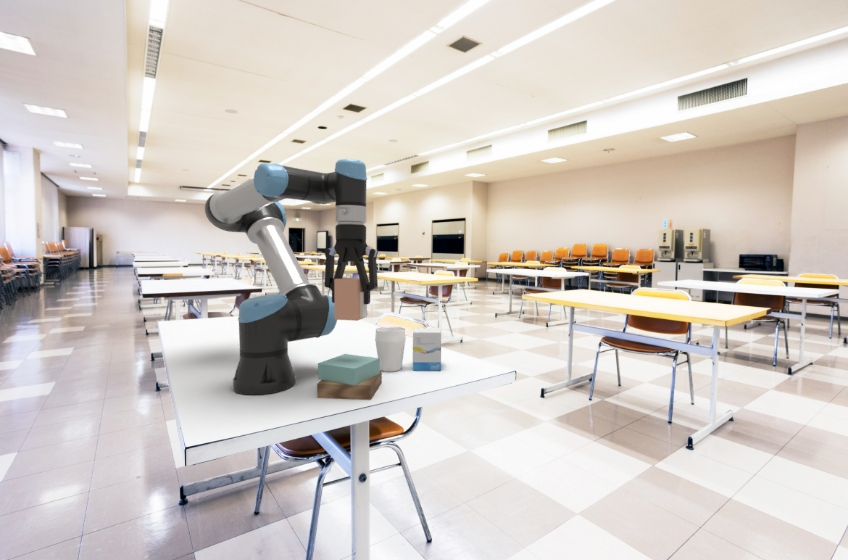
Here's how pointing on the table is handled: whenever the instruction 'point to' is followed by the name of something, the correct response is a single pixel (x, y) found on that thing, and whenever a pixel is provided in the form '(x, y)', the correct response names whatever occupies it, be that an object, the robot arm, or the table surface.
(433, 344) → the ink box
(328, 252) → the robot arm
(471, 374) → the table surface
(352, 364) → the block top
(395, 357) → the cup
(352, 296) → the tall block
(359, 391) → the block bottom
